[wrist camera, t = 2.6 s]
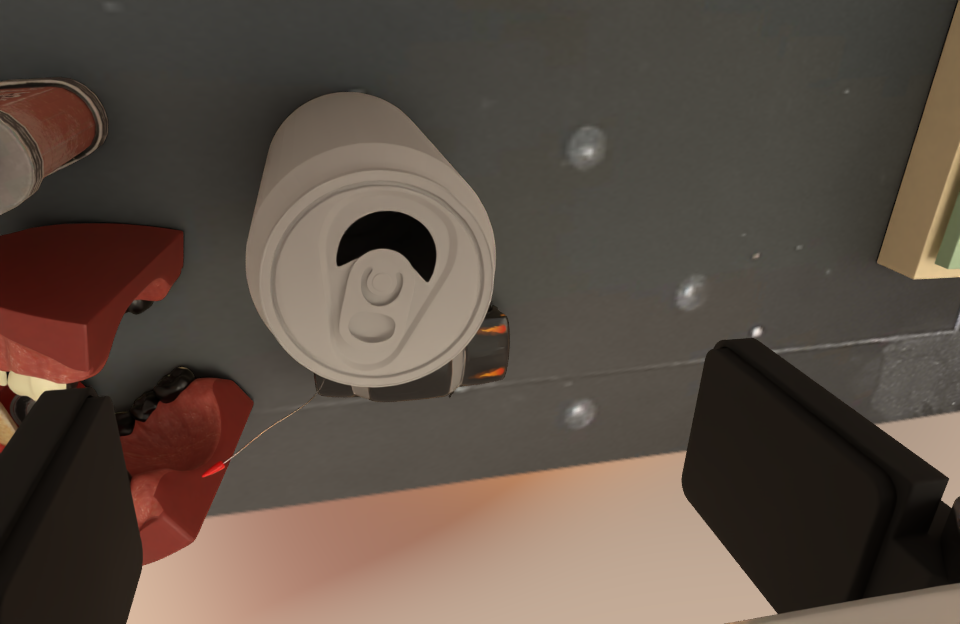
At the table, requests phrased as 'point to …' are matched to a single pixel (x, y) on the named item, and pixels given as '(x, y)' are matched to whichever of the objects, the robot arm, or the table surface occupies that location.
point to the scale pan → (951, 241)
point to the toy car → (469, 367)
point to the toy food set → (6, 427)
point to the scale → (929, 175)
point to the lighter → (44, 132)
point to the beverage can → (367, 245)
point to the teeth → (85, 349)
